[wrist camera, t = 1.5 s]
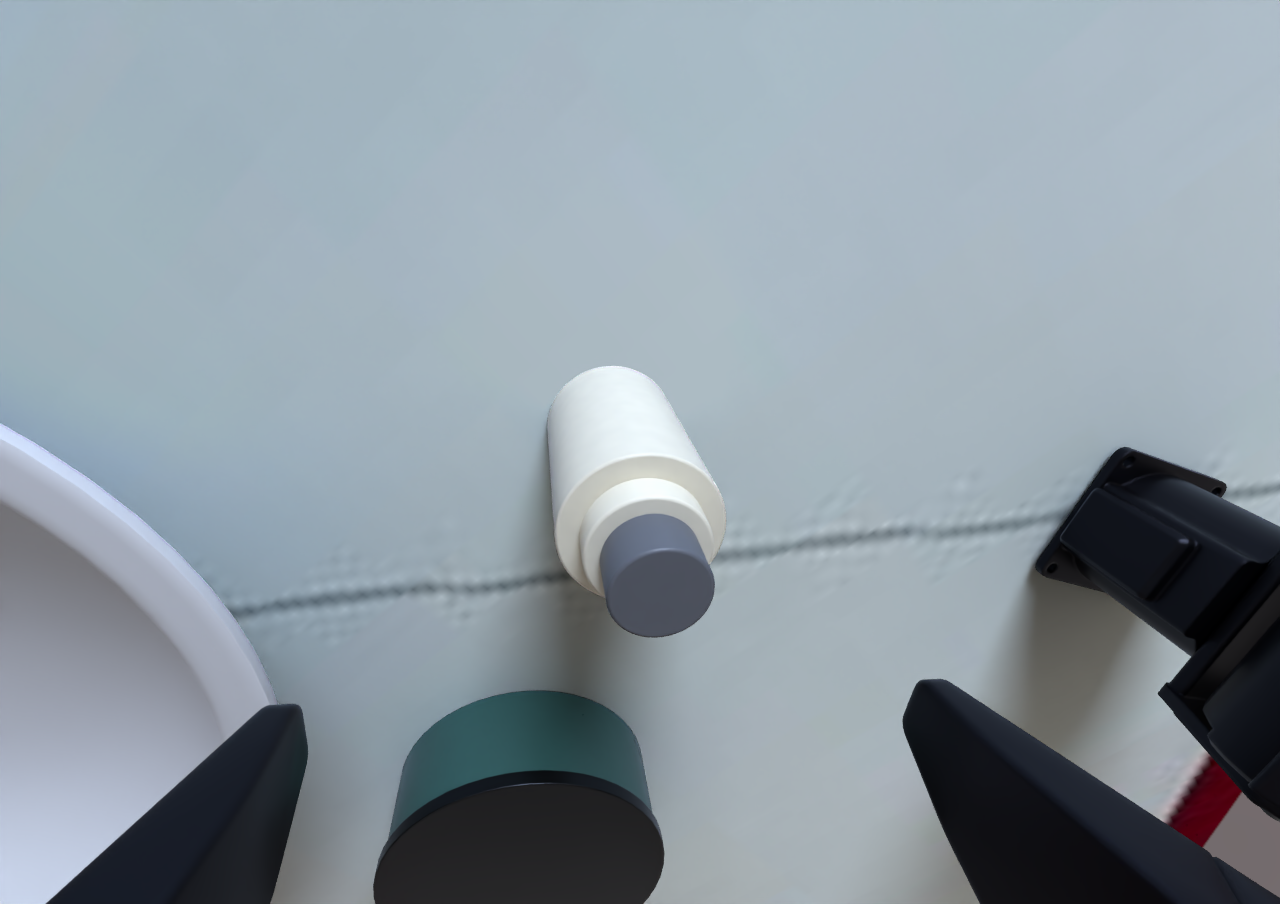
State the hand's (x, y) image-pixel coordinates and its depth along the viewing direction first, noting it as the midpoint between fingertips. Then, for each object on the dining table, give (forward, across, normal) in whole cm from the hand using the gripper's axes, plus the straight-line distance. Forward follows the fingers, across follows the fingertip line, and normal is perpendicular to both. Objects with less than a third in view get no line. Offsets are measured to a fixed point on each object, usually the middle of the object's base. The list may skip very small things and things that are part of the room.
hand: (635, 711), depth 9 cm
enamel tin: (+14, +1, +19) cm, 23 cm away
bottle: (+14, -1, +1) cm, 14 cm away
